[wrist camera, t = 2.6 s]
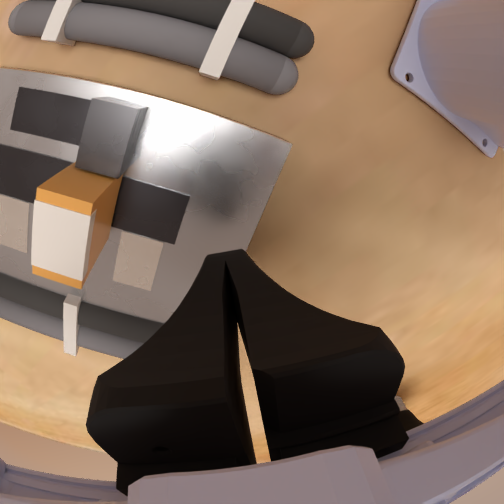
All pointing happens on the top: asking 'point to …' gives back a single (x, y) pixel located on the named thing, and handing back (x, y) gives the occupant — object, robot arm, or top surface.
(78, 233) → the lever
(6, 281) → the cord bundle
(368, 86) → the top surface
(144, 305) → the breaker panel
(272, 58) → the cord bundle
